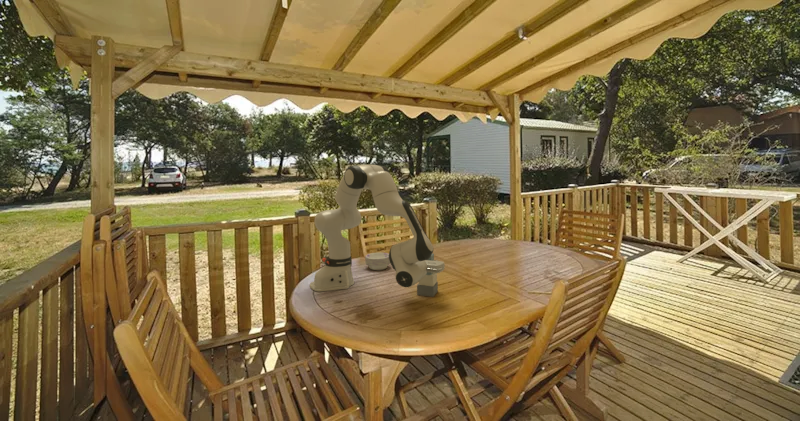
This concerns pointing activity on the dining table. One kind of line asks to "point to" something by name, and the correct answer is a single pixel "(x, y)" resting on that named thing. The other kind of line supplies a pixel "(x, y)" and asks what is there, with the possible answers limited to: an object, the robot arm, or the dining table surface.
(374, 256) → the paper bowls
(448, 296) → the dining table surface
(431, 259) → the blue pillar
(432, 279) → the tower top
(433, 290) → the tower base
